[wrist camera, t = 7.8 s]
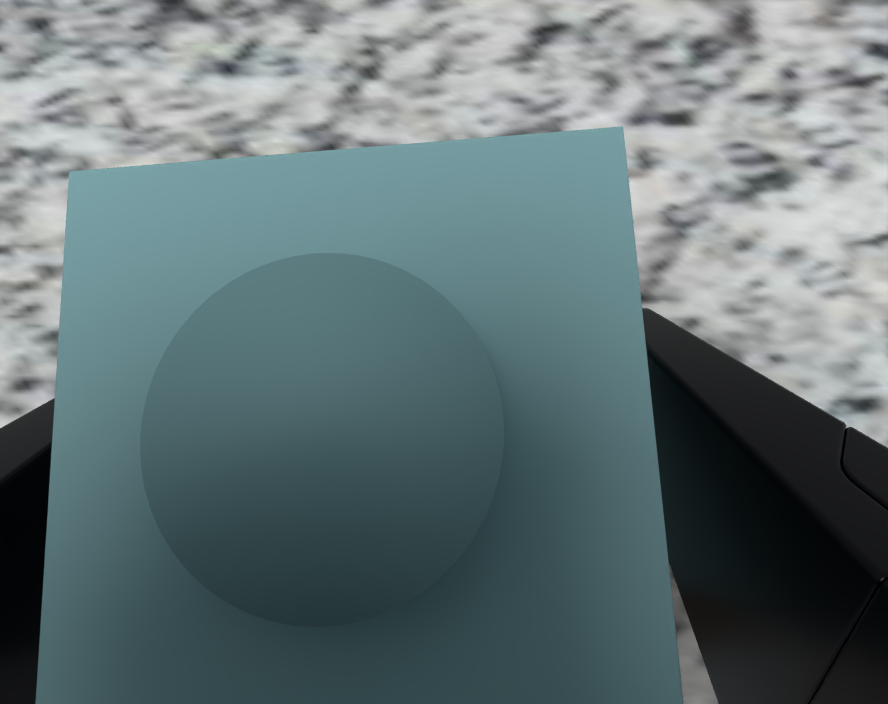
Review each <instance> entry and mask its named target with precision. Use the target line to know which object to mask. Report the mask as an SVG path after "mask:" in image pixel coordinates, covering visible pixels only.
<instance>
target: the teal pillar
mask: <svg viewBox="0 0 888 704" xmlns="http://www.w3.org/2000/svg"><path fill="white" fill-rule="evenodd" d="M36 704H683V695H682V686H681V676H680V667H679V657H678V648H677V638H676V628H675V619H674V609H673V600H672V590H671V581H670V571H669V561H668V552H667V542H666V533H665V523H664V514H663V504H662V495H661V485H660V475H659V466H658V456H657V447H656V437H655V428H654V418H653V408H652V399H651V389H650V380H649V370H648V361H647V351H646V342H645V332H644V322H643V313H642V303H641V294H640V284H639V275H638V265H637V255H636V246H635V236H634V227H633V217H632V208H631V198H630V189H629V179H628V169H627V160H626V150H625V141H624V131H623V127H611V128H599V129H587V130H574V131H562V132H550V133H537V134H525V135H513V136H500V137H488V138H476V139H463V140H451V141H439V142H426V143H414V144H402V145H389V146H377V147H365V148H352V149H340V150H328V151H315V152H303V153H291V154H278V155H266V156H254V157H241V158H229V159H217V160H204V161H192V162H180V163H167V164H155V165H143V166H130V167H118V168H106V169H93V170H81V171H69V183H68V199H67V215H66V230H65V246H64V262H63V278H62V294H61V309H60V325H59V341H58V357H57V373H56V389H55V404H54V420H53V436H52V452H51V468H50V484H49V499H48V515H47V531H46V547H45V563H44V578H43V594H42V610H41V626H40V642H39V658H38V673H37V689H36Z"/></svg>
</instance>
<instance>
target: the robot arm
mask: <svg viewBox="0 0 888 704" xmlns="http://www.w3.org/2000/svg"><path fill="white" fill-rule="evenodd" d="M642 313H643V322H644V332H645V342H646V351H647V361H648V370H649V380H650V389H651V399H652V408H653V418H654V428H655V437H656V447H657V456H658V466H659V475H660V485H661V495H662V504H663V514H664V523H665V533H666V542H667V552H668V561H669V564H670V566H671V569H672V572H673V575H674V578H675V581H676V583H677V586H678V589H679V592H680V595H681V598H682V600H683V603H684V606H685V609H686V612H687V615H688V618H689V620H690V623H691V626H692V629H693V632H694V635H695V637H696V640H697V643H698V646H699V649H700V652H701V654H702V657H703V660H704V663H705V666H706V669H707V671H708V674H709V677H710V680H711V683H712V686H713V689H714V691H715V694H716V697H717V700H718V703H719V704H888V448H887V447H885V446H883V445H882V444H880V443H878V442H877V441H875V440H873V439H871V438H870V437H868V436H866V435H865V434H863V433H861V432H859V431H858V430H856V429H854V428H853V427H848V428H847V429H846V424H845V423H844V422H842V421H840V420H839V419H837V418H835V417H833V416H832V415H830V414H828V413H827V412H825V411H823V410H822V409H820V408H818V407H816V406H815V405H813V404H811V403H810V402H808V401H806V400H804V399H803V398H801V397H799V396H798V395H796V394H794V393H792V392H791V391H789V390H787V389H786V388H784V387H782V386H780V385H779V384H777V383H775V382H774V381H772V380H770V379H768V378H767V377H765V376H763V375H762V374H760V373H758V372H756V371H755V370H753V369H751V368H750V367H748V366H746V365H745V364H743V363H741V362H739V361H738V360H736V359H734V358H733V357H731V356H729V355H727V354H726V353H724V352H722V351H721V350H719V349H717V348H715V347H714V346H712V345H710V344H709V343H707V342H705V341H703V340H702V339H700V338H698V337H697V336H695V335H693V334H691V333H690V332H688V331H686V330H685V329H683V328H681V327H679V326H678V325H676V324H674V323H673V322H671V321H669V320H668V319H666V318H664V317H662V316H661V315H659V314H657V313H656V312H654V311H652V310H650V309H648V308H642ZM54 404H55V398H54V399H52V400H50V401H48V402H47V403H45V404H43V405H41V406H40V407H38V408H36V409H34V410H32V411H31V412H29V413H27V414H25V415H23V416H22V417H20V418H18V419H16V420H14V421H13V422H11V423H9V424H7V425H5V426H4V427H2V428H0V704H36V689H37V673H38V658H39V642H40V626H41V610H42V594H43V578H44V563H45V547H46V531H47V515H48V499H49V484H50V468H51V452H52V436H53V420H54Z"/></svg>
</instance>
